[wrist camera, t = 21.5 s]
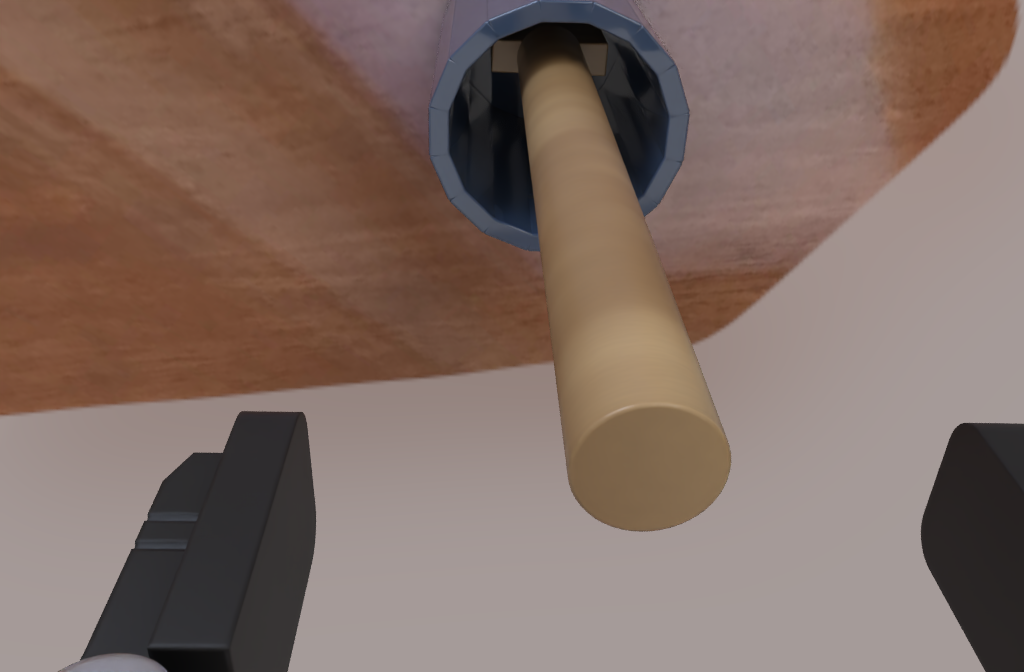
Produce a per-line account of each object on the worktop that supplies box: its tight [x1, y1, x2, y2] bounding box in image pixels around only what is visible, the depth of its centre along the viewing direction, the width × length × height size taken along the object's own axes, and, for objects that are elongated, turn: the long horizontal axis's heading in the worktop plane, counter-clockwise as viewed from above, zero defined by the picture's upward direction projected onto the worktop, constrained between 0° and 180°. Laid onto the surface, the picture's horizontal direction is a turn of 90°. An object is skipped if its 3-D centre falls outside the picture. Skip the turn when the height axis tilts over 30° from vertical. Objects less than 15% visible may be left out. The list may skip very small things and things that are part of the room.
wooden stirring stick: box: [491, 22, 731, 531], centre depth 20 cm, size 3×2×23 cm, turn 87°
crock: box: [428, 0, 690, 251], centre depth 27 cm, size 6×6×10 cm
